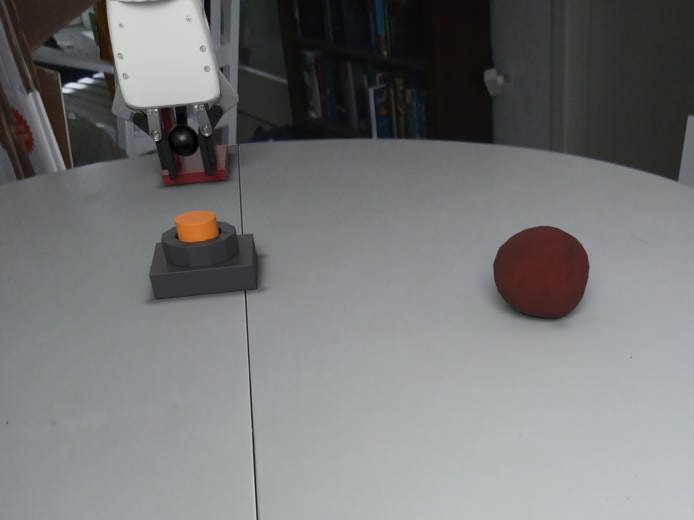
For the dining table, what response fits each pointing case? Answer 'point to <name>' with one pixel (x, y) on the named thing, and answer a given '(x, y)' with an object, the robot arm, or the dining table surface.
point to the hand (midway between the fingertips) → (191, 172)
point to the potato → (542, 271)
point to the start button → (196, 226)
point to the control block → (204, 264)
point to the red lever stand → (194, 159)
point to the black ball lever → (183, 135)
